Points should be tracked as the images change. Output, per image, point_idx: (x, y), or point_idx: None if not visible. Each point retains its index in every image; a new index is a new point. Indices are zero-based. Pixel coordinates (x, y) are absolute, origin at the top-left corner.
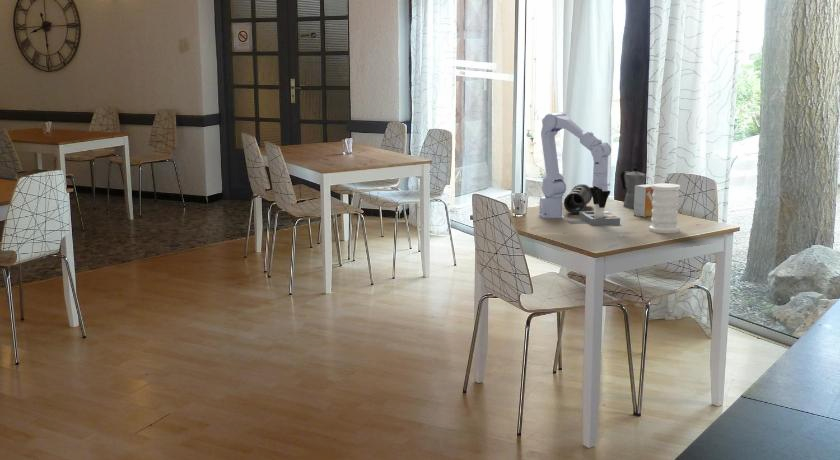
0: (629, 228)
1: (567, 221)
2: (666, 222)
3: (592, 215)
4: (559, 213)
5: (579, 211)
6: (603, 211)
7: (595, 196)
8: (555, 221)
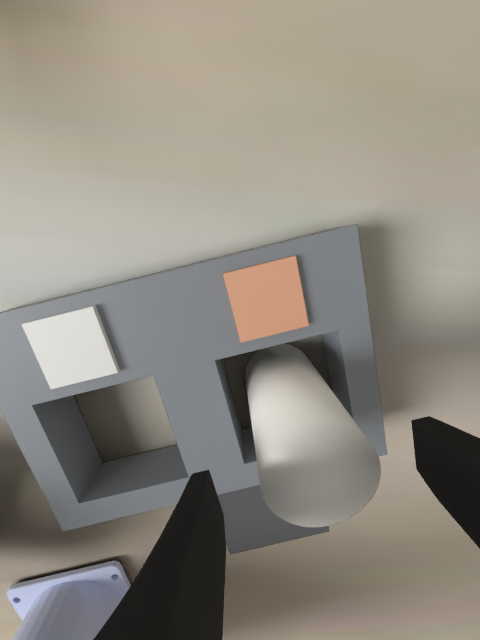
0: (443, 161)
1: (250, 548)
2: None
3: (233, 445)
4: (107, 619)
5: (67, 529)
6: (328, 393)
7: (212, 628)
8: None
